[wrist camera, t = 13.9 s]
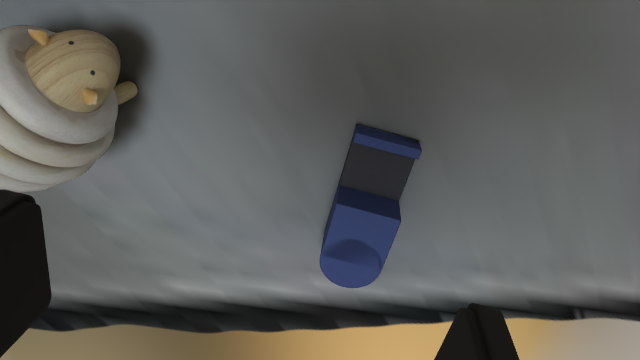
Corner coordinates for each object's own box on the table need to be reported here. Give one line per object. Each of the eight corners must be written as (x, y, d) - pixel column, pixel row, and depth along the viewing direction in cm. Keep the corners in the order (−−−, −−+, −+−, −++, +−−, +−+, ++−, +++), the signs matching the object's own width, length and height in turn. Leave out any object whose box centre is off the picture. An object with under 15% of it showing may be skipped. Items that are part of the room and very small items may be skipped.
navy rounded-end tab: (356, 123, 32) (354, 142, 29) (419, 140, 32) (425, 161, 29) (318, 250, 38) (313, 279, 35) (371, 264, 38) (372, 294, 35)
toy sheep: (194, 85, 32) (117, 137, 23) (66, 193, 38) (-39, 271, 28) (89, -38, 29) (-54, -40, 19) (-33, 100, 35) (-191, 152, 25)
